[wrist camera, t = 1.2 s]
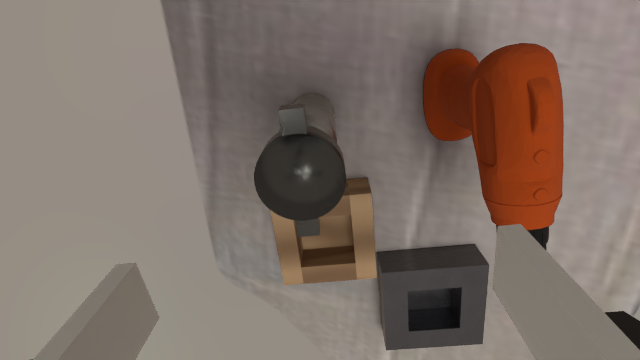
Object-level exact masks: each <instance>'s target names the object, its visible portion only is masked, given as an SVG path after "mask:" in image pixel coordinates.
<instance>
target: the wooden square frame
mask: <svg viewBox="0 0 640 360" xmlns="http://www.w3.org/2000/svg"><path fill="white" fill-rule="evenodd" d="M270 211H271V210H270ZM271 217H272V222H273V227H274V233H275V238H276V243H277V249H278V254H279V259H280V265H281V270H282V275H283V281H284V285H292V284H305V283H318V282H331V281H343V280H356V279H369V278H377V272H376V257H375V241H374V225H373V209H372V194H371V190H370V186H369V182H368V179H367V178H360V179H350V180H346V185H345V190H344V193H343V196H342V198H341V199H340V201H339V203H338V204H337V205H336V206H335V207H334V208H333V209H332V210H331V211H330V212H328V213H327V214H325V215H323V216H321V217H320V235H317V236H305V237H298V232H297V226H296V220H290V219H287V218H284V217H281V216H279V215H277V214H276V213H274V212H273V211H271Z"/></svg>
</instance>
